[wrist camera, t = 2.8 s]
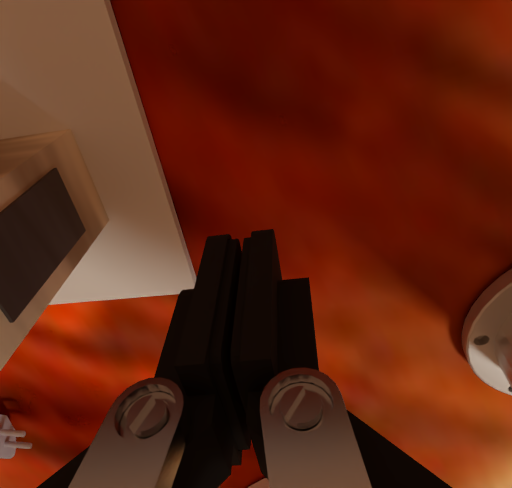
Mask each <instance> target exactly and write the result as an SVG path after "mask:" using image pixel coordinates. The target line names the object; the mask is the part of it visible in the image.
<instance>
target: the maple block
mask: <svg viewBox="0 0 512 488" xmlns="http://www.w3.org/2000/svg"><path fill="white" fill-rule="evenodd" d="M108 222H109V218H108V215H107V213H106V211H105V208H104V206H103V204H102V201H101V199H100V196H99V194H98V192H97V189H96V187H95V185H94V182H93V180H92V177H91V175H90V173H89V170H88V168H87V166H86V163H85V161H84V159H83V156H82V154H81V151H80V149H79V147H78V144H77V142H76V140H75V137H74V135H73V132H72V130H71V129H67V130H60V131H53V132H47V133H40V134H33V135H27V136H20V137H14V138H7V139H0V371H1V369H2V368H3V367H4V365H5V364H6V362H7V361H8V360H9V358H10V357H11V356H12V354H13V353H14V351H15V350H16V349H17V347H18V346H19V345H20V343H21V342H22V340H23V339H24V338H25V336H26V335H27V333H28V332H29V331H30V329H31V328H32V327H33V325H34V324H35V322H36V321H37V320H38V318H39V317H40V316H41V314H42V313H43V311H44V310H45V309H46V307H47V306H48V304H49V303H50V302H51V300H52V299H53V298H54V296H55V295H56V293H57V292H58V291H59V289H60V288H61V287H62V285H63V284H64V282H65V281H66V280H67V278H68V277H69V275H70V274H71V273H72V271H73V270H74V269H75V267H76V266H77V264H78V263H79V262H80V260H81V259H82V258H83V256H84V255H85V253H86V252H87V251H88V249H89V248H90V246H91V245H92V244H93V242H94V241H95V240H96V238H97V237H98V235H99V234H100V233H101V231H102V230H103V229H104V227H105V226H106V224H107V223H108Z"/></svg>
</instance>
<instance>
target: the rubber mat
mask: <svg viewBox="0 0 512 488" xmlns="http://www.w3.org/2000/svg"><path fill="white" fill-rule="evenodd" d="M67 129H71V130H72V132H73V135H74V137H75V140H76V142H77V144H78V147H79V149H80V151H81V154H82V156H83V159H84V161H85V163H86V166H87V168H88V170H89V173H90V175H91V177H92V180H93V182H94V185H95V187H96V189H97V192H98V194H99V196H100V199H101V201H102V204H103V206H104V208H105V211H106V213H107V215H108V218H109V222H108V223H107V224H106V226H105V227H104V229H103V230H102V231H101V233H100V234H99V235H98V237H97V238H96V240H95V241H94V242H93V244H92V245H91V246H90V248H89V249H88V251H87V252H86V253H85V255H84V256H83V258H82V259H81V260H80V262H79V263H78V264H77V266H76V267H75V269H74V270H73V271H72V273H71V274H70V275H69V277H68V278H67V280H66V281H65V282H64V284H63V285H62V287H61V288H60V289H59V291H58V292H57V293H56V295H55V296H54V298H53V299H52V300H51V302H50V303H49V304H48V305H50V304H62V303H75V302H87V301H99V300H111V299H123V298H135V297H147V296H159V295H172V294H180V292H181V291H182V290H186V289H194V286H195V282H196V279H197V278H196V275H195V272H194V269H193V266H192V262H191V259H190V256H189V253H188V250H187V246H186V243H185V240H184V237H183V234H182V230H181V227H180V224H179V221H178V217H177V214H176V211H175V208H174V205H173V201H172V198H171V195H170V192H169V189H168V185H167V182H166V179H165V176H164V173H163V169H162V166H161V163H160V160H159V157H158V153H157V150H156V147H155V144H154V140H153V137H152V134H151V131H150V128H149V124H148V121H147V118H146V115H145V112H144V108H143V105H142V102H141V99H140V96H139V92H138V89H137V86H136V83H135V80H134V76H133V73H132V70H131V67H130V64H129V60H128V57H127V54H126V51H125V47H124V44H123V41H122V38H121V35H120V31H119V28H118V25H117V22H116V19H115V15H114V12H113V9H112V6H111V3H110V0H0V139H7V138H14V137H20V136H27V135H33V134H40V133H47V132H53V131H60V130H67Z"/></svg>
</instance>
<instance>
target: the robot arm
mask: <svg viewBox="0 0 512 488" xmlns="http://www.w3.org/2000/svg"><path fill="white" fill-rule="evenodd" d="M461 335H462V348H463V350H464V353H465V356H466V358H467V360H468V363H469V364H470V366H471V368H472V370H473V372H474V373H475V374H476V375H477V376H478V377H479V378H480V379H481V380H482V381H483V382H484V383H486V384H487V385H489V386H491V387H492V388H494V389H496V390H498V391H501V392H503V393H506V394H509V395H512V269H510V270H509V271H507V272H506V273H504V274H503V275H501V276H500V277H499V278H498V279H497V280H495V281H494V282H493V283H492V284H491V285H490V286H489V287H488V288H486V289H485V290H484V291H483V293H482V294H481V295H480V296H479V298H478V299H477V300H476V301H475V303H474V304H473V305H472V307H471V309H470V311H469V313H468V315H467V317H466V318H465V321H464V325H463V329H462V333H461ZM251 440H252V443H253V447H254V450H255V453H256V456H257V459H258V463H259V466H260V469H261V472H262V474H263V475H264V476H265V477H266V478H267V479H268V480H269V487H270V488H452V487H450V486H449V485H448V484H446V483H445V482H444V481H442V480H441V479H440V478H438V477H437V476H436V475H434V474H433V473H431V472H430V471H429V470H427V469H426V468H425V467H423V466H422V465H421V464H419V463H418V462H417V461H415V460H414V459H413V458H411V457H410V456H409V455H407V454H406V453H404V452H403V451H402V450H400V449H399V448H398V447H396V446H395V445H394V444H392V443H391V442H390V441H388V440H387V439H386V438H384V437H383V436H381V435H380V434H379V433H377V432H376V431H375V430H373V429H372V428H371V427H369V426H368V425H367V424H365V423H364V422H363V421H361V420H360V419H358V418H357V417H356V416H354V415H353V414H352V413H350V412H349V411H348V410H346V407H345V404H344V401H343V398H342V395H341V393H340V391H339V389H338V387H337V385H336V383H335V382H334V381H333V380H332V379H331V378H329V377H328V376H327V375H326V374H324V373H322V372H320V371H319V368H318V358H317V349H316V339H315V330H314V320H313V311H312V302H311V293H310V284H309V278H299V279H289V280H282V276H281V270H280V264H279V258H278V251H277V245H276V239H275V233H274V230H273V229H270V230H261V231H253V232H252V233H251V237H250V238H244V242H243V250H242V251H241V246H240V242H239V240H238V239H231V236H230V235H229V234H226V235H217V236H209V237H207V240H206V243H205V247H204V251H203V255H202V259H201V263H200V267H199V271H198V275H197V279H196V282H195V286H194V289H186V290H182V291H181V292H180V294H179V296H178V299H177V303H176V306H175V310H174V313H173V316H172V320H171V323H170V326H169V330H168V333H167V336H166V340H165V343H164V347H163V350H162V353H161V357H160V360H159V363H158V367H157V370H156V373H155V377H154V378H148V379H145V380H142V381H139V382H137V383H135V384H134V385H132V386H130V387H129V388H127V389H126V390H125V391H124V392H123V393H122V394H121V395H119V396H118V397H117V399H116V400H115V402H114V403H113V405H112V406H111V408H110V409H109V411H108V413H107V415H106V417H105V419H104V421H103V423H102V425H101V426H100V428H99V430H98V432H97V434H96V436H95V438H94V440H93V442H92V444H91V445H90V446H89V447H88V448H87V449H85V450H84V451H83V452H81V453H80V454H79V455H78V456H76V457H75V458H74V459H73V460H71V461H70V462H69V463H67V464H66V465H65V466H64V467H62V468H61V469H60V470H58V471H57V472H56V473H55V474H53V475H52V476H51V477H50V478H48V479H47V480H46V481H44V482H43V483H42V484H41V485H39V486H38V487H37V488H221V484H222V483H223V482H224V481H225V480H226V479H227V478H228V477H229V475H230V474H231V467H232V465H241V460H242V450H246V449H250V445H251Z"/></svg>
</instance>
